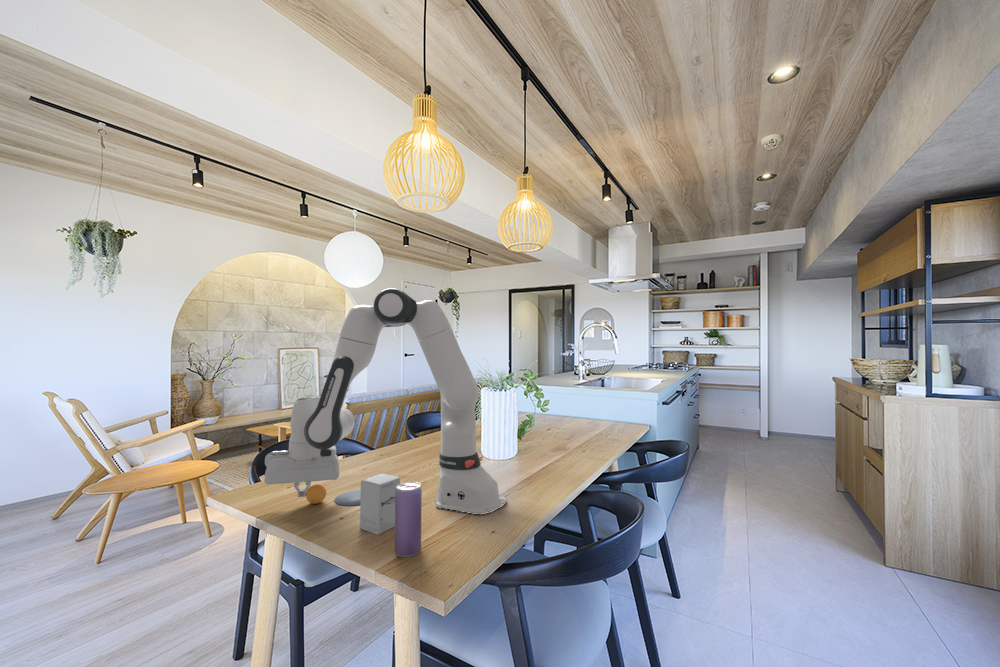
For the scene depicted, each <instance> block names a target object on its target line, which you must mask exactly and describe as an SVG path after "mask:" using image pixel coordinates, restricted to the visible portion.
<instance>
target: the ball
mask: <svg viewBox="0 0 1000 667" xmlns="http://www.w3.org/2000/svg"><path fill="white" fill-rule="evenodd" d="M326 496H327V489H326V487H325V486H324V485H323V484H320V483H315V484H313V485H310V487H309V488H308V490H307V491H306V497H305V498H306V501H307V502H308V503H310V504H311V505H312V504H313V505H316V504H320V503H322V502H323V501H324V500H325V498H326Z"/></svg>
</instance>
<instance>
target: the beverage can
mask: <svg viewBox="0 0 1000 667" xmlns="http://www.w3.org/2000/svg"><path fill="white" fill-rule="evenodd" d="M422 491H423V490H422V485H421V483H420V482H417V481H407V482H406V481H405V482H400V484H398V485H397V486H396V491H395V527H394V553H395V554H396V555H397V557H399V558H411V557H415V556H416V555H418V554H419V553H420V551H421V549H422V506H423V505H422V504H423V503H422V500H423V498H422V493H423V492H422Z"/></svg>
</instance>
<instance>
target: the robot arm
mask: <svg viewBox="0 0 1000 667" xmlns="http://www.w3.org/2000/svg"><path fill="white" fill-rule="evenodd" d="M405 325H409V326H410V327H411V328H412V329H413V332H414V333H415V336H416V338H417V340H418V343H419V345H420V348H421V350H422V352H423V355H424V357H425V360H426V362H427V364H428V367H429V368H430V369H429V370H430V371H431V374H432V377H433V379H434V382H435V383H436V386H437V388H438V391H439V392H440V453H439V458H438V460H439V462H438V464H439V466H440V467H439V470H440V471H439V477H438V478H439V480H438V487H437V491H436V494H435V495H436V496H435V498H434V500H436V501H435V502H436V503H435V507H436V508H437V507H438V508H437V509H441V508H445V509H444V510H447V509H450V510H449V511H452V510H457V511H456V512H458V511H464V512H470V513H476V514H482V513H486V512H490V511H492V510H494V509H496V508H498V507H500V506H501V505H502V504H504V503H505V501H506V502H507V497H505V496H504V495H503V496H502V495H500V493H499V492H500V491H499V486H498V482H497V480H495V478H494V477H493V476H492V475H491V474H490V473H489V472H488V471H487V470H486V469H485V468H484V467H483V466H482V465H481V462H482V461H484V456H483V455H482V456H479V453H478V452H477V423H476V409H475V405H476V403H477V401H478V399H479V386H478V384H477V382H476V380H475V378H474V375H473V373H472V371H471V369H470V367H469V364H468V363H467V360H466V358H465V356H464V355H463V352H462V350H461V348H460V345H459V343H458V341H457V340H458V339H457V338H456V336H455V334H454V331H453V328H452V326H451V324H450V321H449V320H448V318H447V316H446V314H445V313H444V311H443V309H442V307H441V306H440V305H439V303H438V302H436V301H435V300H430V299H429V300H428V299H427V300H422V301H419V302H417V301H416V300H415V299H413V298H412V297H411V296H410V295H408V293H406V292H404V291H403V290H401V289H398V288H396V287H394V288H393V287H388V288H385V289H383V290H381V291H380V292H379V293H378V294H376V297H375V298H374V300H373V305H367V304H359V305H358V304H357V305H355V306H353V307H352V308H351V309H349V311H348V314H347V316H346V317H345V319H344V323H343V325H342V327H341V331H340V333H339V337H338V341H337V345H336V348H335V352H334V357H333V360H332V362H331V366H330V369H329V371H328V375H327V377H326V380H325V383H324V386H323V389H322V392H321V394H320V395H310V396H304V397H300V398H298V399H296V400H295V402H294V403H293V406H292V408H291V415H290V416H291V417H290V423H289V424H290V425H289V426H290V432H291V433H290V437H289V441H288V450H279V451H278V450H274V451H271V452H269V453H267V454H266V455H265V457H264V465H265V467H266V469H265V472H264V478H263V479H264V483H265V484H266V485H267V486H268V485H269V486H271V485H281V484H293V487H294V489H295V490H296V491H297V495H296V496H297V498H304V497H305V498H306V493H307V490H308V489H309V488H310V487H311V486H312V485H311V484H312V482H323V481H324V482H325V481H335V480H338V479H339V477H340V465H339V457H338V455H337V447H336V444H337V443H338V442H340V441H341V440H343V439H344V438H346V437H347V436H349V435H350V434H351V433H352V432H353V431H354V429H355V426H356V417H355V415H354V413H353V412H352V411H351V410H350V409H349V408H346V407H343V406H344V403H345V399H346V396H347V393H348V391H349V387H350V385H351V384H352V382H353V380H354V379H355V378H356V377H357V376H358V375H359V374H360V373H361V372H362V371H364V370H365V369H366V368H367V367H368V366H369V365H370V363H371V361H372V360H373V359H372V358H373V357H374V354H375V351H376V348H377V344H378V341H379V336H380V334H381V331H382V330H383V329H384V328H392V327H402V326H405ZM301 483H305V487H304V489H303V488H302V489H301V488H300V484H301ZM501 501H503V502H501Z"/></svg>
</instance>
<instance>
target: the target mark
mask: <svg viewBox="0 0 1000 667" xmlns="http://www.w3.org/2000/svg"><path fill="white" fill-rule="evenodd" d="M333 499H334V500H333V501H334V503H335V504H336V505H338V506H343V507H355V506H356V505H357V506H360V499H361V489H360V490H352V491H351V490H350V491H347V492H343V493H341V494H339V495H337V496H335V498H333ZM357 506H356V507H357Z"/></svg>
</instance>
